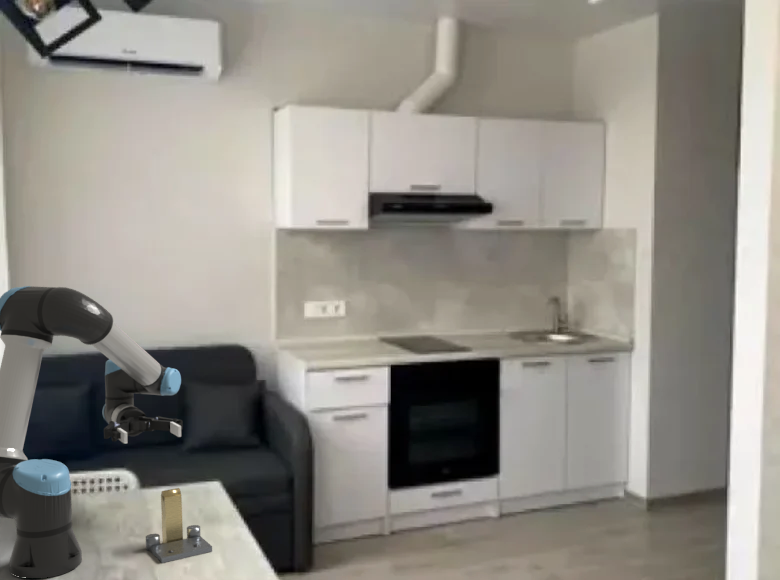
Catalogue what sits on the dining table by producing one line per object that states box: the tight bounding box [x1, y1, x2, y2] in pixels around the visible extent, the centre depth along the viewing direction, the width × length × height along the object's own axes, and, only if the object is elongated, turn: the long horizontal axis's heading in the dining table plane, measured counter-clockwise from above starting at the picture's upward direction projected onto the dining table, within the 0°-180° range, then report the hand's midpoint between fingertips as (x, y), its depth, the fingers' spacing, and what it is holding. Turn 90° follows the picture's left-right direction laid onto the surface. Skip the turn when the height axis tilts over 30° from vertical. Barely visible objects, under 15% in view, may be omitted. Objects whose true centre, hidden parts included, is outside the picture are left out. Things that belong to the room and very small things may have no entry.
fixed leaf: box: [145, 524, 213, 564], centre depth 200 cm, size 13×11×3 cm
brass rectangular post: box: [160, 487, 184, 544], centre depth 204 cm, size 4×3×13 cm
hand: (153, 434), depth 213 cm, fingers open, 13 cm apart
